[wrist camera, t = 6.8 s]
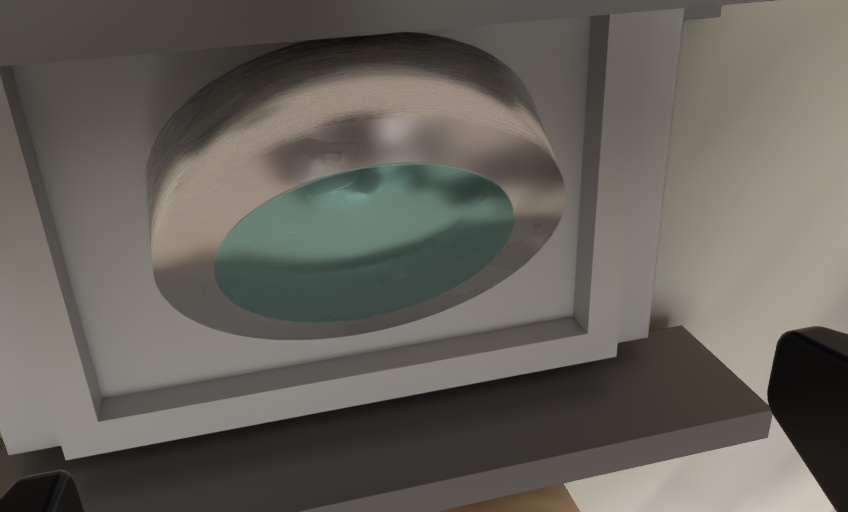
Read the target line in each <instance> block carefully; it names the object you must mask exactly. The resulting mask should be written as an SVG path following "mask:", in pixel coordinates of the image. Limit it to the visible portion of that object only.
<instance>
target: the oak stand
mask: <svg viewBox="0 0 848 512" xmlns="http://www.w3.org/2000/svg"><path fill="white" fill-rule="evenodd" d="M436 512H580V511H579V509H578V507H577V506H576V504H575V502H574V501H573V499H572V497H571V496H570V494H569V492H568V491H567V489H566V487H565V486H564V484H563V483H562V484H558V485H553V486H549V487H544V488H540V489H535V490H531V491H526V492H522V493H517V494H513V495H508V496H504V497H499V498H495V499H490V500H486V501H481V502H477V503H472V504H468V505H463V506H459V507H454V508H450V509H445V510H441V511H436Z"/></svg>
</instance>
